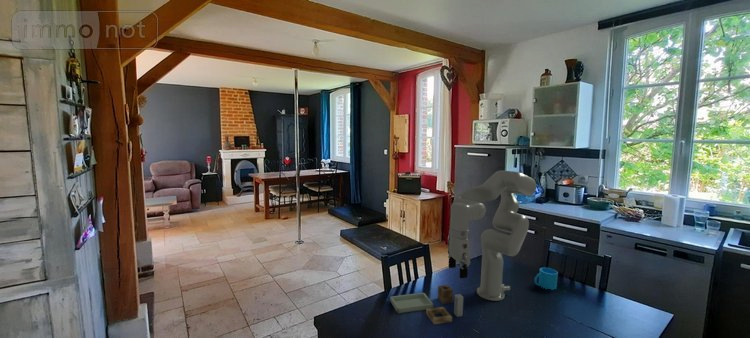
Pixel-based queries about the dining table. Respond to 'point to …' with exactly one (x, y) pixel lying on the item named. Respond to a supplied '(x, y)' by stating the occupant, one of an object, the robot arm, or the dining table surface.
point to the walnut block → (445, 294)
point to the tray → (411, 302)
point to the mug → (547, 278)
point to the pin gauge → (458, 305)
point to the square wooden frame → (438, 320)
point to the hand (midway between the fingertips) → (457, 272)
